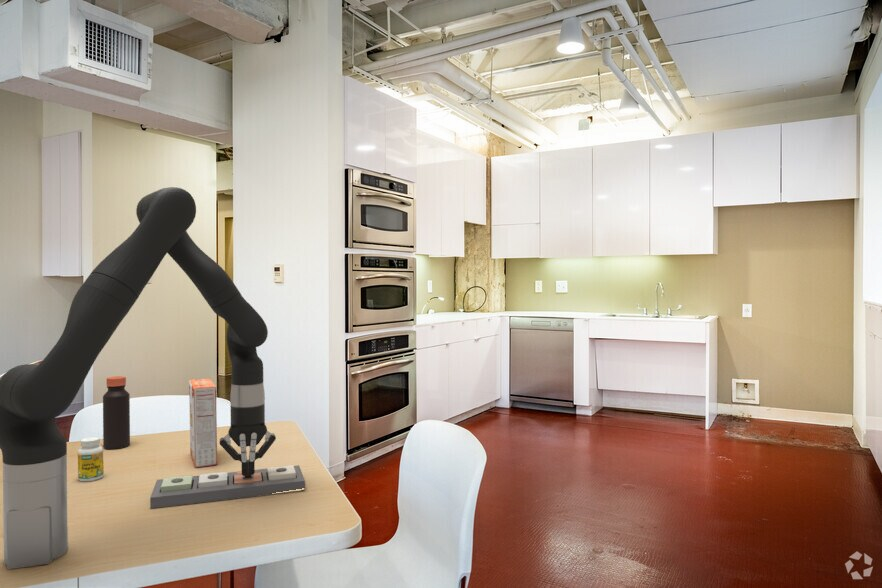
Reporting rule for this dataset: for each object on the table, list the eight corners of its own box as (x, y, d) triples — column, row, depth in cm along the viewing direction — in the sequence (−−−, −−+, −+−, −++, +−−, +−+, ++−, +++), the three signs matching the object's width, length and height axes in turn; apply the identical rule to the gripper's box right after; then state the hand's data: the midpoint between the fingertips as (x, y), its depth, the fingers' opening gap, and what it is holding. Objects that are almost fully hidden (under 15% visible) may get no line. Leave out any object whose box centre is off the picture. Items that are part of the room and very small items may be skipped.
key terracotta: (262, 488, 135) (262, 479, 135) (234, 491, 133) (234, 482, 133) (260, 479, 141) (260, 471, 140) (234, 482, 139) (234, 474, 138)
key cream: (295, 480, 137) (295, 471, 137) (268, 483, 135) (268, 474, 135) (293, 472, 143) (293, 464, 143) (267, 475, 141) (267, 467, 141)
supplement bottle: (102, 473, 147) (102, 435, 147) (104, 479, 143) (104, 439, 142) (77, 477, 144) (77, 438, 144) (78, 483, 140) (77, 443, 140)
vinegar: (112, 443, 175) (111, 375, 174) (134, 443, 174) (134, 375, 174) (98, 449, 168) (97, 379, 167) (121, 449, 168) (120, 379, 167)
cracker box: (188, 454, 163) (188, 379, 163) (211, 451, 166) (211, 377, 166) (192, 468, 151) (192, 387, 150) (217, 465, 154) (217, 385, 153)
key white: (227, 487, 132) (227, 479, 132) (198, 491, 130) (198, 482, 130) (227, 479, 138) (227, 470, 138) (199, 482, 136) (199, 473, 136)
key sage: (191, 491, 130) (190, 482, 130) (161, 495, 128) (160, 486, 128) (192, 483, 135) (192, 474, 135) (163, 486, 133) (163, 477, 133)
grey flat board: (305, 490, 135) (304, 480, 135) (150, 508, 124) (150, 497, 124) (299, 474, 147) (299, 464, 146) (156, 489, 136) (156, 479, 136)
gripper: (216, 407, 131) (217, 485, 131) (278, 403, 135) (278, 478, 136) (217, 401, 138) (217, 475, 138) (276, 397, 142) (276, 468, 143)
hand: (248, 476), depth 137 cm, fingers closed
